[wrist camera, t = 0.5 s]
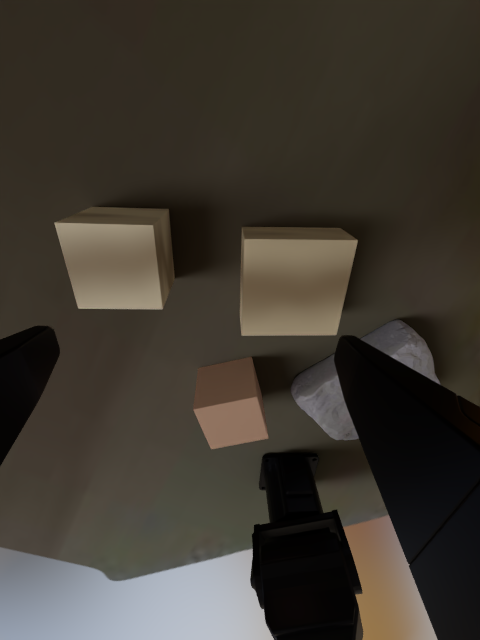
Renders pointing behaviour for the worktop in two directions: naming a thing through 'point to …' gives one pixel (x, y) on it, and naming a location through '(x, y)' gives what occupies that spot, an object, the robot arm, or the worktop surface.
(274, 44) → the worktop surface
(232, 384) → the terracotta block
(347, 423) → the stone block
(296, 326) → the oak base block
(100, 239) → the beech block
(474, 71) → the worktop surface
